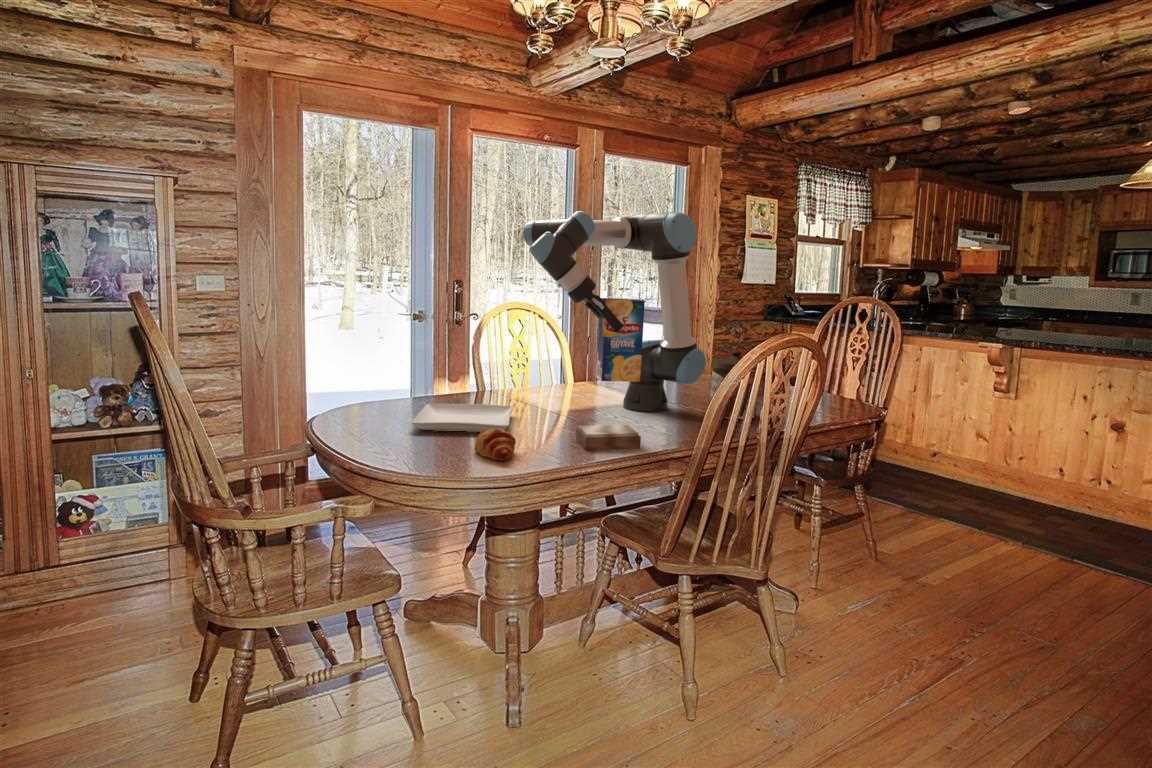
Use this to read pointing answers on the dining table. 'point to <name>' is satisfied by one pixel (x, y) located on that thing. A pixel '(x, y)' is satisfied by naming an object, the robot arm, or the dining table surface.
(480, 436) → the croissant
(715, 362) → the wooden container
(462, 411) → the square plate
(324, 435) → the dining table surface
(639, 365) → the beverage box
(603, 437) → the base block
